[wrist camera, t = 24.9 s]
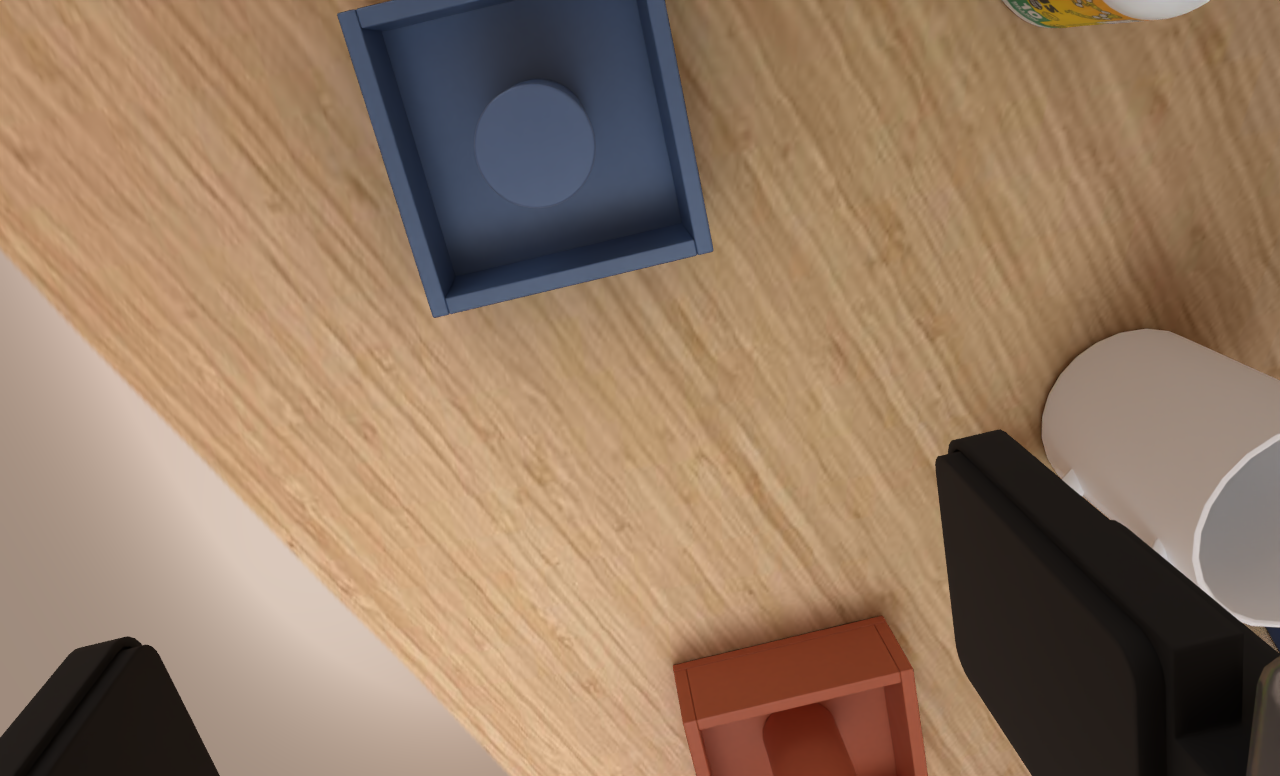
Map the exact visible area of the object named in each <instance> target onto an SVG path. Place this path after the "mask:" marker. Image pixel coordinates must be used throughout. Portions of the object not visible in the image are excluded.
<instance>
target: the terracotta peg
mask: <svg viewBox="0 0 1280 776" xmlns="http://www.w3.org/2000/svg"><path fill="white" fill-rule="evenodd" d="M763 742H764V745H765V748H766V752H767V755H768V759H769V762H770V765H771V769H772V772H773V775H774V776H857V773H856V771H855V768H854V766H853V764H852V761H851V759H850V756H849V754H848V751H847V749H846V747H845V744H844V742H843V739H842V737H841V734H840V732H839V730H838V727H837V725H836V722H835V720H834V718H833V716H832V714H831V713H830V712H829V711H828V710H827V709H826V708H825V707H824V706H822V705H820V704H818V703H812V704H808V705H804V706H800V707H796V708H791V709H787V710H783V711H779V712H774V713H772V714H771V715H770V717H769V718H768V719H767V721H766V723H765V726H764V729H763Z"/></svg>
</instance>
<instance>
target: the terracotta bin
mask: <svg viewBox="0 0 1280 776" xmlns="http://www.w3.org/2000/svg"><path fill="white" fill-rule="evenodd" d="M673 671H674V676H675V682H676V687H677V693H678V698H679V704H680V709H681V715H682V720H683V725H684V729H685V733H686V737H687V741H688V745H689V749H690V753H691V756H692V760H693V764H694V768H695V772H696V776H774V775H773V772H772V769H771V765H770V762H769V759H768V755H767V752H766V748H765V745H764V742H763V729H764V726H765V723H766V721H767V719H768V718H769V717H770V715H771V714H772V713H774V712H779V711H783V710H787V709H791V708H796V707H800V706H804V705H808V704H812V703H818V704H820V705H822V706H824V707H825V708H826V709H827V710H828V711H829V712H830V713H831V714H832V716H833V718H834V720H835V722H836V725H837V727H838V730H839V732H840V734H841V737H842V739H843V742H844V744H845V747H846V749H847V751H848V754H849V756H850V759H851V761H852V764H853V766H854V768H855V771H856V773H857V776H928V773H927V765H926V758H925V751H924V744H923V736H922V729H921V722H920V715H919V707H918V700H917V693H916V685H915V678H914V671H913V668H912V666H911V664H910V662H909V661H908V659H907V657H906V656H905V654H904V652H903V650H902V649H901V647H900V645H899V643H898V642H897V640H896V638H895V636H894V635H893V633H892V631H891V629H890V628H889V626H888V624H887V623H886V621H885V619H884V617H883V616H879V617H874V618H870V619H866V620H862V621H858V622H853V623H849V624H845V625H841V626H837V627H832V628H828V629H824V630H820V631H816V632H811V633H807V634H803V635H799V636H794V637H790V638H786V639H782V640H778V641H773V642H769V643H765V644H761V645H757V646H752V647H748V648H744V649H740V650H735V651H731V652H727V653H723V654H719V655H714V656H710V657H706V658H702V659H698V660H693V661H689V662H685V663H681V664H677V665H673Z"/></svg>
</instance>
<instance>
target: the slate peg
mask: <svg viewBox="0 0 1280 776" xmlns="http://www.w3.org/2000/svg"><path fill="white" fill-rule="evenodd" d="M595 151H596V145H595V136H594V132H593V128H592V125H591V123H590V121H589V118H588V116H587V114H586V111H585V109H584V107H583V105H582V104H581V102H580V100H579V99H578V98H577V97H576V95H575V94H574V93H573V92H572V91H570V90H569V89H568V88H566V87H565V86H563V85H561V84H560V83H557V82H555V81H551V80H547V79H530V80H526V81H523V82H520V83H518V84H516V85H514V86H512V87H510V88H509V89H507V90H505V91H503V92H502V93H500V94H499V95H497V96H496V97H495V98H494V99H493V100H492V101H491V102H490V103H489V104H488V105H487V106H486V108H485V109H484V111H483V112H482V114H481V116H480V118H479V120H478V123H477V126H476V130H475V136H474V152H475V157H476V162H477V165H478V167H479V170H480V172H481V174H482V176H483V178H484V179H485V181H486V182H487V183H488V185H489V186H490V187H491V188H492V189H493V190H494V191H495V192H496V193H497V194H498V195H500V196H501V197H503V198H504V199H506V200H507V201H509V202H511V203H514V204H516V205H519V206H523V207H528V208H545V207H551V206H554V205H557V204H560V203H562V202H564V201H566V200H567V199H569V198H570V197H572V196H573V195H574V194H575V193H577V192H578V191H579V189H580V188H581V187H582V186H583V185H584V183H585V182H586V180H587V179H588V177H589V175H590V173H591V170H592V167H593V164H594V160H595Z"/></svg>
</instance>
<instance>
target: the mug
mask: <svg viewBox="0 0 1280 776" xmlns="http://www.w3.org/2000/svg"><path fill="white" fill-rule="evenodd" d="M1042 441H1043V445H1044V448H1045V452H1046V455H1047V459H1048V461H1049V462H1050V464H1051V465H1052V467H1053V468H1054V470H1055V471H1056V473H1057V474H1058V476H1060V477H1061V478H1062V480H1063V481H1064V482H1065V483H1066V484H1068V485H1069V486H1070V487H1071V488H1072V489H1074V490H1075V491H1076V492H1077V493H1078V494H1079V495H1081V496H1083V497H1085V498H1086V499H1087V500H1088V501H1089V502H1090V503H1092V504H1093V505H1094V506H1095V507H1096V508H1098V509H1099V510H1100V511H1101V512H1102V513H1103V514H1105V515H1106V516H1107V517H1108V518H1109V519H1111V520H1116V521H1118V522H1119V523H1121V524H1122V525H1124V526H1126V527H1127V528H1128V529H1129V530H1131V531H1132V532H1133V533H1134V534H1136V535H1137V536H1138V537H1139V538H1140V539H1142V540H1143V541H1144V542H1145V543H1146V544H1148V545H1149V546H1150V547H1151V548H1152V549H1154V550H1155V551H1156V552H1157V553H1158V554H1160V555H1161V556H1162V557H1163V558H1164V559H1166V560H1167V561H1168V562H1169V563H1170V564H1172V565H1173V566H1174V567H1175V568H1176V569H1178V570H1179V571H1180V572H1181V573H1183V574H1184V575H1185V576H1186V577H1187V578H1189V579H1190V580H1191V581H1192V582H1193V583H1195V584H1196V585H1197V586H1198V587H1199V588H1201V589H1202V590H1203V591H1204V592H1205V593H1207V594H1208V595H1209V596H1210V597H1211V598H1213V599H1214V600H1215V601H1216V602H1217V603H1219V604H1220V605H1221V606H1222V607H1223V608H1225V609H1226V610H1227V611H1228V612H1230V613H1231V614H1232V615H1233V616H1234V617H1236V618H1237V619H1238V620H1239V621H1240V622H1243V623H1246V624H1248V625H1251V626H1263V627H1280V380H1278V379H1276V378H1273V377H1271V376H1269V375H1267V374H1264V373H1262V372H1260V371H1258V370H1256V369H1253V368H1251V367H1249V366H1247V365H1244V364H1242V363H1240V362H1238V361H1236V360H1233V359H1231V358H1229V357H1227V356H1225V355H1222V354H1220V353H1218V352H1216V351H1213V350H1211V349H1209V348H1207V347H1205V346H1202V345H1200V344H1198V343H1196V342H1193V341H1191V340H1189V339H1187V338H1184V337H1182V336H1180V335H1177V334H1175V333H1172V332H1170V331H1164V330H1155V329H1141V330H1135V331H1128V332H1122V333H1118V334H1116V335H1113V336H1111V337H1109V338H1106V339H1104V340H1101V341H1099V342H1097V343H1095V344H1094V345H1092V346H1091V347H1090V348H1088V349H1087V350H1085V351H1084V352H1082V353H1081V354H1080V355H1078V356H1077V357H1076V358H1075V359H1074V360H1073V361H1072V362H1071V363H1070V364H1069V365H1068V367H1067V368H1066V369H1065V370H1064V371H1063V372H1062V373H1061V374H1060V376H1059V377H1058V379H1057V381H1056V383H1055V384H1054V386H1053V388H1052V389H1051V391H1050V393H1049V395H1048V398H1047V401H1046V405H1045V408H1044V412H1043V415H1042Z"/></svg>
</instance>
